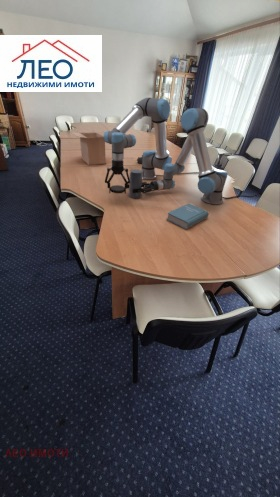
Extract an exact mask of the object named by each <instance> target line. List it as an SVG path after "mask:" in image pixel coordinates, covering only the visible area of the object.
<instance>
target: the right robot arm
mask: <svg viewBox="0 0 280 497" xmlns="http://www.w3.org/2000/svg"><path fill="white" fill-rule="evenodd" d="M208 122H209V113H208V111H207V110H206V109H205V108H202V107H192V108H191V107H190V108H188V109H186V110H185V111H184V112H183V114H182V115H181V118H180V126H181V128H182V129H184V131H186V135H187V137H186V139H185V141H184V142H183V145H182V146H181V147H182V148H181V149H180V152H179V154H178V156H177V158H176V160H175V163H172V162H171V163H167V164H165V167H164V170H163V174H162V175H163V176H162V179H159V180H158V179H157V180H150V183H149V182H148V181H142V188H139V189H133V190H132V193H138V192H141V193H142V194H147V193H151V192H156V191H164V190H166V191H167V190H171V189H174V188H175V186H176V181H175V179H174V176H176V174H177V175H180V174H179V173H184V171H185V165H186V163H187V161H188V159H189V158H190V156H191V154H192V152H193V153H194V157H195V160H196V164H197V169H198V172H199V173H198V175H197V177H198V181H197V189H198V191H199V192H200V193H202V194H203V195H202V197H201V201H203V202H204V203H206V204H210V205H221V204H222V202H223V199H225V200H230V199H233V198H235V199H236V198H239V197H243V198H254V197H257V196H258V195H257V194H253V195H240V194H239V195H234V196H228V197H225V196H223V191H224V188H225V184H226V181H227V178H228V171H226V170H223V169H217V168H213V166H212V162H211V158H210V154H209V149H208V145H207V141H206V137H205V133H204V132H205V129H206V127H207V125H208ZM127 189H129V184H128V188H127Z"/></svg>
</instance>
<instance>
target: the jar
mask: <svg viewBox="0 0 280 497" xmlns="http://www.w3.org/2000/svg"><path fill="white" fill-rule="evenodd" d="M142 175H143V174H142V171H141V169H139V168H138V169H136V168H134V169H130V171H129V179H130V184H129V188H128V197H129V198H132V199H140V198H141V197H142V192H138V193H132V190H133V189H139V188H143V187H142V182H143V179H142Z"/></svg>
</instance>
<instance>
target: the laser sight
mask: <svg viewBox="0 0 280 497" xmlns="http://www.w3.org/2000/svg"><path fill="white" fill-rule="evenodd" d="M142 156H143V154H141V156H140V157H139V156H138V157H137V159H136V161H137V164H140V165H142V158H143V157H142Z"/></svg>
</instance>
